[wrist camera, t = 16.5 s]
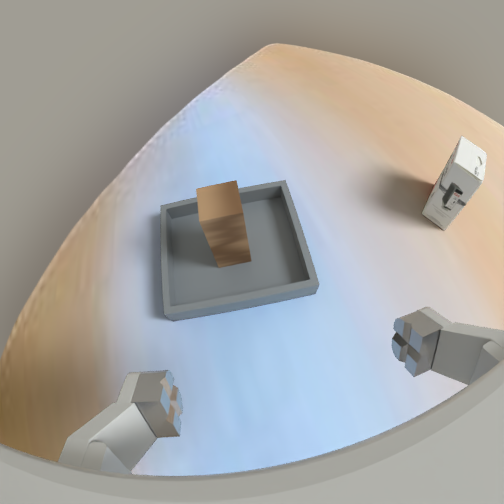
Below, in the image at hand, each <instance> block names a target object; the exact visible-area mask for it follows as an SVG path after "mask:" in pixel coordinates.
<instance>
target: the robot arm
mask: <svg viewBox="0 0 504 504" xmlns="http://www.w3.org/2000/svg"><path fill="white" fill-rule="evenodd" d="M393 329H394V330H395V331H396V333H395V335H394V337H393V338H392V350H393V353H394V355H395V357H396V358H397V359H398V360H399V361H402V362H405V368H406V369H407V370H408V371H409V372H410V373H411V375H412V376H413V377H415V376H418V375H420V374H422V373H424V372H426V371H428V370H432V371H434V372H437V373H439V374H442V375H444V376H447V377H449V378H452V379H454V380H457V381H460V382H462V383H465V384H467V385H468V386H467V387H465V388H464V389H462V390H461V391H459V392H458V393H456V394H455V395H453V396H451V397H450V398H448V399H447V400H445V401H443V402H442V403H440V404H438V405H436V406H435V407H433V408H431V409H429V410H428V411H426V412H424V413H422V414H420V415H418V416H416V417H414V418H413V419H411V420H409V421H407V422H405V423H402V424H400V425H398V426H396V427H394V428H392V429H390V430H387V431H385V432H383V433H380V434H378V435H376V436H373V437H371V438H368V439H366V440H363V441H360V442H358V443H355V444H352V445H350V446H347V447H344V448H341V449H338V450H335V451H331V452H328V453H325V454H322V455H318V456H315V457H311V458H307V459H303V460H299V461H295V462H291V463H286V464H282V465H277V466H272V467H266V468H261V469H255V470H248V471H241V472H233V473H224V474H212V475H196V476H150V475H134V474H132V473H131V470H132V469H133V468H134V467H135V465H136V464H137V463H138V462H139V461H140V459H141V458H142V457H143V456H144V454H145V453H146V452H147V451H148V449H149V448H150V447H151V446H152V444H153V443H154V442H155V441H156V439H157V438H161V437H177V436H180V430H181V421H180V419H179V416H180V415H181V413H182V409H183V405H182V398H181V394H180V392H179V389H178V388H177V387H176V386H174V385H173V382H174V378H173V376H172V374H171V372H170V371H169V370H162V371H148V372H133V373H129V374H127V376H126V378H125V381H124V384H123V386H122V389H121V392H120V394H119V397H118V400H117V402H116V403H112V404H111V405H109V406H108V407H107V408H106V409H104V410H103V411H102V412H100V413H99V414H98V415H97V416H95V417H94V418H93V419H91V420H90V421H89V422H87V423H86V424H85V425H83V426H82V427H81V428H80V429H78V430H77V431H76V432H74V433H73V434H72V435H70V436H69V437H68V438H67V441H66V443H65V445H64V448H63V450H62V453H61V455H60V458H59V460H58V462H55V461H52V460H48V459H44V458H41V457H37V456H34V455H31V454H28V453H25V452H22V451H19V450H16V449H14V448H11V447H8V446H6V445H3V444H1V443H0V504H504V331H503V330H498V329H491V328H485V327H479V326H474V325H468V324H462V323H456V322H455V323H451V322H450V321H449V320H447V319H446V318H444V317H443V316H441V315H440V314H439V313H437V312H436V311H434V310H433V309H431V308H430V307H424V308H422V309H419V310H417V311H416V312H413V313H411V314H408V315H405V316H402V317H400V318H397V319H396V320H395V322H394V328H393Z"/></svg>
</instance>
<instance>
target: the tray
mask: <svg viewBox="0 0 504 504" xmlns="http://www.w3.org/2000/svg"><path fill="white" fill-rule="evenodd" d="M238 190H239V195H240V200H241V204H242V209H243V214H244V220H245V226H246V232H247V238H248V243H249V249H250V255H251V262H246V263H241V264H236V265H231V266H226V267H221V268H219V267H218V265H217V262H216V260H215V258H214V255H213V253H212V251H211V248H210V246H209V244H208V241H207V239H206V236H205V234H204V232H203V229H202V227H201V224H200V222H199V213H198V202H197V197H196V198H191V199H187V200H183V201H178V202H174V203H170V204H166V205H162V206H161V218H160V229H161V272H162V292H163V307H164V315H165V316H167V317H168V318H169V319H171V320H172V321H178V320H184V319H190V318H196V317H202V316H208V315H214V314H220V313H225V312H231V311H236V310H241V309H246V308H252V307H257V306H262V305H266V304H271V303H276V302H281V301H285V300H290V299H295V298H299V297H304V296H308V295H312V294H316V291H317V289H318V287H319V282H318V278H317V275H316V272H315V268H314V265H313V262H312V259H311V255H310V252H309V249H308V246H307V243H306V240H305V236H304V233H303V230H302V227H301V224H300V221H299V218H298V215H297V212H296V209H295V206H294V203H293V200H292V198H291V195H290V192H289V189H288V186H287V183H286V181H285V180H284V181H278V182H272V183H266V184H260V185H255V186H249V187H244V188H239V189H238Z"/></svg>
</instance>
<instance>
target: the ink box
mask: <svg viewBox="0 0 504 504" xmlns="http://www.w3.org/2000/svg"><path fill="white" fill-rule="evenodd" d="M486 157H487V154H486V153H485V152H484V151H483V150H482V149H480V148H479V147H477V146H476V145H475V144H473V143H472V142H470V141H469V140H467V139H466V138H464V137H463V136H461V138H460V140H459V142H458V144H457V145H456V147H455V149H454V151H453V153H452V155H451V157H450V159H449V160H448V162H447V164H446V166H445V168H444V169H443V171H442V173H441V175H440V176H439V178H438V180H437V181H436V183H435V185H434V187H433V189H432V192H431V194H430V196H429V198H428V201H427V203H426V205H425V207H424V209H423V212H422V214H423V215H424V216H425V217H427V218H428V219H429V220H431V221H432V222H434V223H435V224H436V225H438V226H439V227H440V228H442V229H443V230H446V229H447V228H448V226H449V225H450V224H451V223H452V221H453V220H454V219H455V218H456V216H457V215H458V214H459V213H460V211H461V210H462V209H463V208H464V206H465V205H466V204H467V202H468V201H469V200H470V199H471V197H472V196H473V195H474V193H475V192H476V191H477V189H478V188H479V187H480V185H481V184H482V181H483V180H484V174H485V166H486Z"/></svg>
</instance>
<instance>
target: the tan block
mask: <svg viewBox="0 0 504 504" xmlns="http://www.w3.org/2000/svg"><path fill="white" fill-rule="evenodd" d="M196 191H197V202H198V213H199V222H200V224H201V227H202V229H203V232H204V234H205V236H206V239H207V241H208V244H209V246H210V248H211V251H212V253H213V255H214V258H215V260H216V262H217V265H218V267H219V268H221V267H226V266H231V265H236V264H241V263H246V262H251V255H250V249H249V243H248V238H247V232H246V226H245V220H244V214H243V209H242V204H241V200H240V195H239V190H238V186H237V181H231V182H226V183H221V184H216V185H212V186H207V187H202V188H198V189H196Z"/></svg>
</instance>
